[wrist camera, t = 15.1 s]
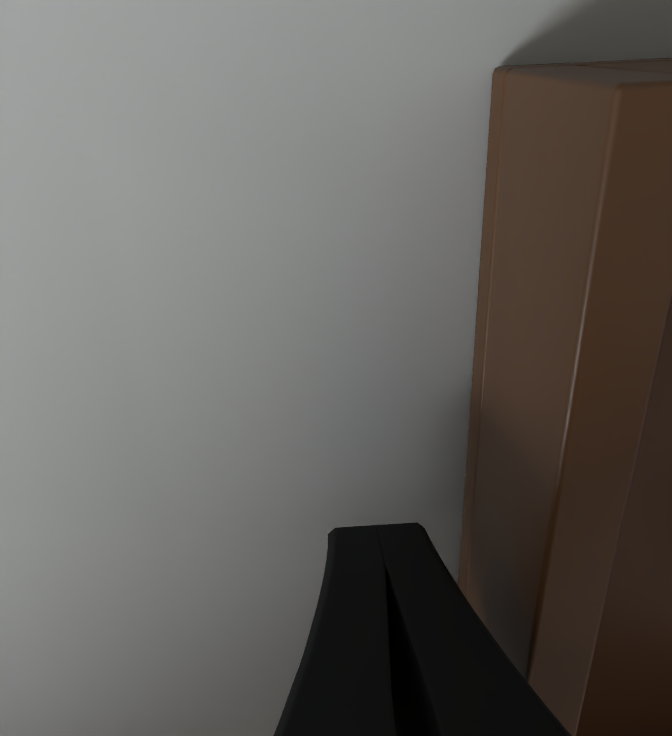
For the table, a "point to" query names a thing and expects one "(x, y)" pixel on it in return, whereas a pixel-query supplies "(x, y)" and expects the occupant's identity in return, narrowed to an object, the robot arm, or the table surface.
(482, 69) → the table surface
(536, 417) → the tray
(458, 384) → the table surface
